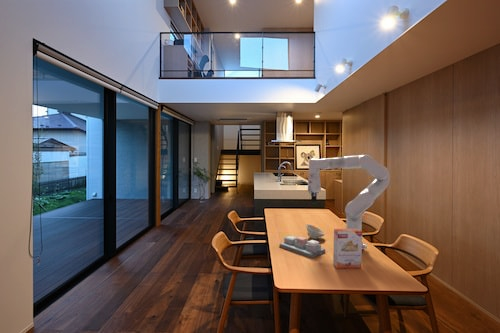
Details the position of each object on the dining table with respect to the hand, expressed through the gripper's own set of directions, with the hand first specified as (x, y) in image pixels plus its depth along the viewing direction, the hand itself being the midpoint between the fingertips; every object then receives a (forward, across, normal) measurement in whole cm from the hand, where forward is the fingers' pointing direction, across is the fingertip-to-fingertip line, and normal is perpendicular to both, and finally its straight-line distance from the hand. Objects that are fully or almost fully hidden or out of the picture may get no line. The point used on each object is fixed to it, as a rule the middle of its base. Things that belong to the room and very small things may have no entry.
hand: (313, 201), depth 184 cm
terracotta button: (+25, -19, -4) cm, 31 cm away
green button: (+26, -19, +5) cm, 33 cm away
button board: (+29, -19, -4) cm, 35 cm away
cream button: (+25, -19, -13) cm, 34 cm away
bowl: (+29, +6, +3) cm, 30 cm away
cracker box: (+29, -21, -37) cm, 52 cm away
